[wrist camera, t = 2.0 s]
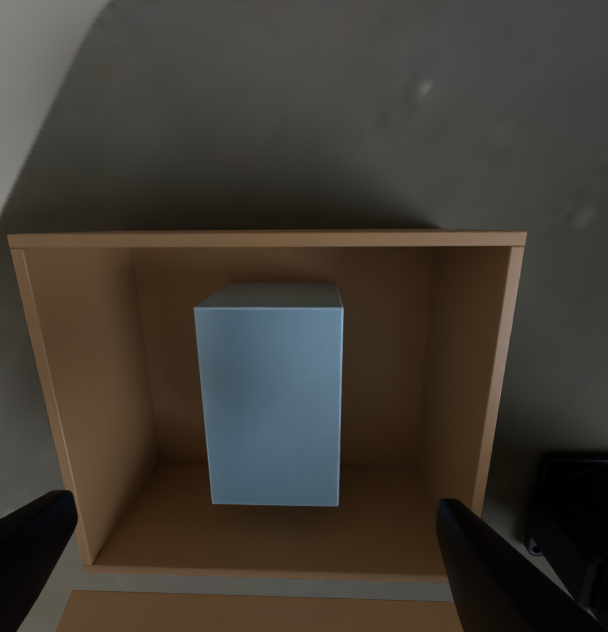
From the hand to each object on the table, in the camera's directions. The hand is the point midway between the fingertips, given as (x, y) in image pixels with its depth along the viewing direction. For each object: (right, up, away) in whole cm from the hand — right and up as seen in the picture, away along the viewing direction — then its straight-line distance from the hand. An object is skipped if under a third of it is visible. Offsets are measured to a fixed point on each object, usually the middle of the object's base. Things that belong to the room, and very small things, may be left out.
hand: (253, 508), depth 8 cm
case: (0, +2, +9) cm, 9 cm away
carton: (0, +2, +9) cm, 10 cm away
